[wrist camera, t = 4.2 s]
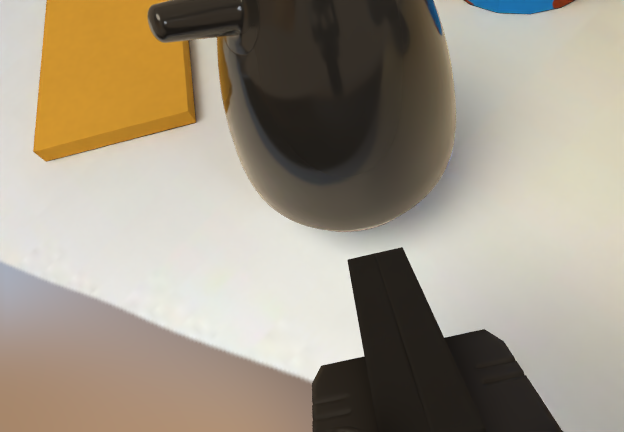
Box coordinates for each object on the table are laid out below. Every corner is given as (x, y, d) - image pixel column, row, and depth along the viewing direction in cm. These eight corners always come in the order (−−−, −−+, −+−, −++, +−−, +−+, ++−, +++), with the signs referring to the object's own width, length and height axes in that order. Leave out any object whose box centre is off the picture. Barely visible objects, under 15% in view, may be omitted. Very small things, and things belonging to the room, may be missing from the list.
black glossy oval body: (228, 157, 29) (69, -96, 15) (376, 67, 30) (349, -250, 16) (319, 299, 24) (208, 118, 11) (490, 187, 25) (585, -110, 12)
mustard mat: (196, 122, 30) (188, 110, 29) (45, 161, 31) (32, 151, 30) (182, -29, 37) (175, -43, 36) (57, 7, 37) (46, -6, 36)
